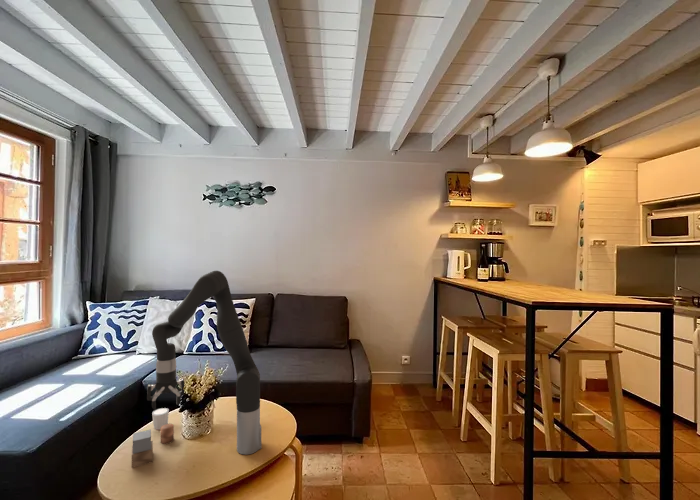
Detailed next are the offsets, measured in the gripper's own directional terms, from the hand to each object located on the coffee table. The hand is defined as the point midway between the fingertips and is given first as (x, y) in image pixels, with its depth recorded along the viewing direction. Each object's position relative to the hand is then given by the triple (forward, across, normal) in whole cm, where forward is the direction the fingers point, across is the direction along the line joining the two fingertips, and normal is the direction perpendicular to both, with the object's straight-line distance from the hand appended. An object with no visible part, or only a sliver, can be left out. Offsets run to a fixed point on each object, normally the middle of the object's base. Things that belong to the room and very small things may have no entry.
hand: (166, 406), depth 152 cm
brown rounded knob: (+15, 0, 0) cm, 15 cm away
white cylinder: (+15, +2, -14) cm, 21 cm away
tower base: (+15, +9, +10) cm, 20 cm away
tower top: (+10, +9, +10) cm, 17 cm away
